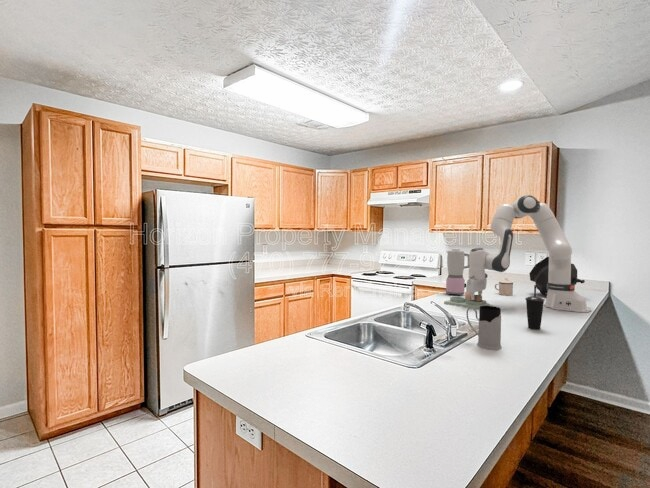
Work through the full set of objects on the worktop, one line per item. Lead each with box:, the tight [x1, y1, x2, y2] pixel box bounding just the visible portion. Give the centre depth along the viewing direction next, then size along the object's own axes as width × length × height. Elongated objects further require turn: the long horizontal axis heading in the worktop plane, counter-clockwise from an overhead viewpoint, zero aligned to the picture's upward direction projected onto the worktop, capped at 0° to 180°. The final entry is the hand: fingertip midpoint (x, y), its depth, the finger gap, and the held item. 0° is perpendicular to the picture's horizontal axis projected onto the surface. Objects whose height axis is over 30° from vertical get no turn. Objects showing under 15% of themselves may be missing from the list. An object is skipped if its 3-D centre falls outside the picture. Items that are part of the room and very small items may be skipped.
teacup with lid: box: [494, 277, 514, 297], centre depth 252 cm, size 12×9×12 cm
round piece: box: [464, 291, 470, 300], centre depth 231 cm, size 5×5×5 cm
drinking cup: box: [525, 284, 546, 331], centre depth 163 cm, size 8×8×20 cm
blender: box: [445, 248, 470, 297], centre depth 249 cm, size 16×12×32 cm
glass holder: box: [466, 305, 502, 351], centre depth 140 cm, size 9×14×15 cm, turn 36°
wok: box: [528, 256, 586, 295], centre depth 243 cm, size 28×28×24 cm
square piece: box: [470, 294, 483, 302], centre depth 211 cm, size 5×5×5 cm
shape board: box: [443, 296, 491, 310], centre depth 215 cm, size 22×14×4 cm, turn 44°
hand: (476, 298), depth 211 cm, fingers open, 8 cm apart
